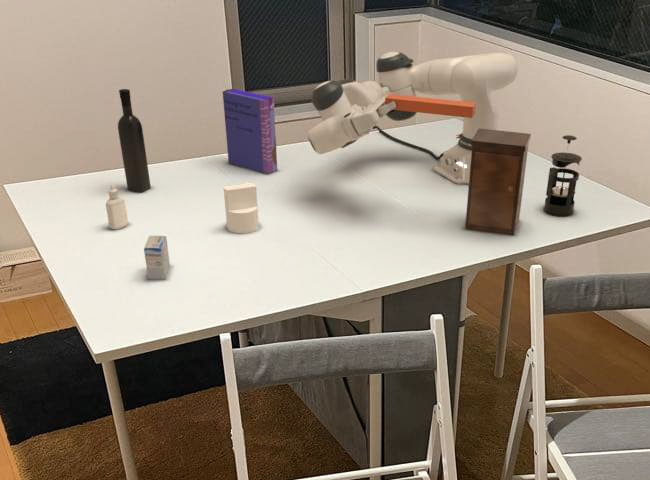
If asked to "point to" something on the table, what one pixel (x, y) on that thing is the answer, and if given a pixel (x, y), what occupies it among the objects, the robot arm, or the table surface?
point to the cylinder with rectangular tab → (241, 208)
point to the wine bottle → (132, 147)
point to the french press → (559, 196)
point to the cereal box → (250, 130)
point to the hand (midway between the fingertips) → (398, 101)
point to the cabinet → (496, 180)
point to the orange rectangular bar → (432, 106)
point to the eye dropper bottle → (116, 210)
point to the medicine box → (157, 257)
